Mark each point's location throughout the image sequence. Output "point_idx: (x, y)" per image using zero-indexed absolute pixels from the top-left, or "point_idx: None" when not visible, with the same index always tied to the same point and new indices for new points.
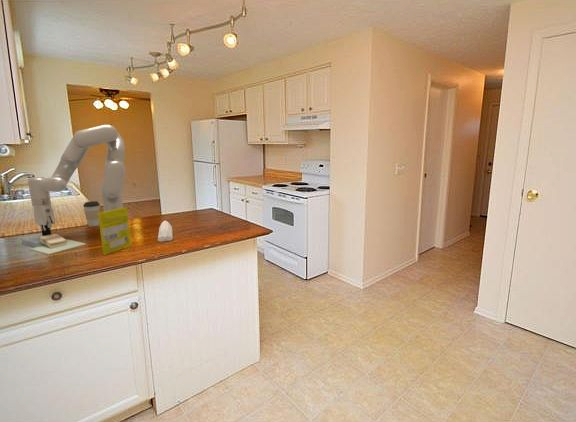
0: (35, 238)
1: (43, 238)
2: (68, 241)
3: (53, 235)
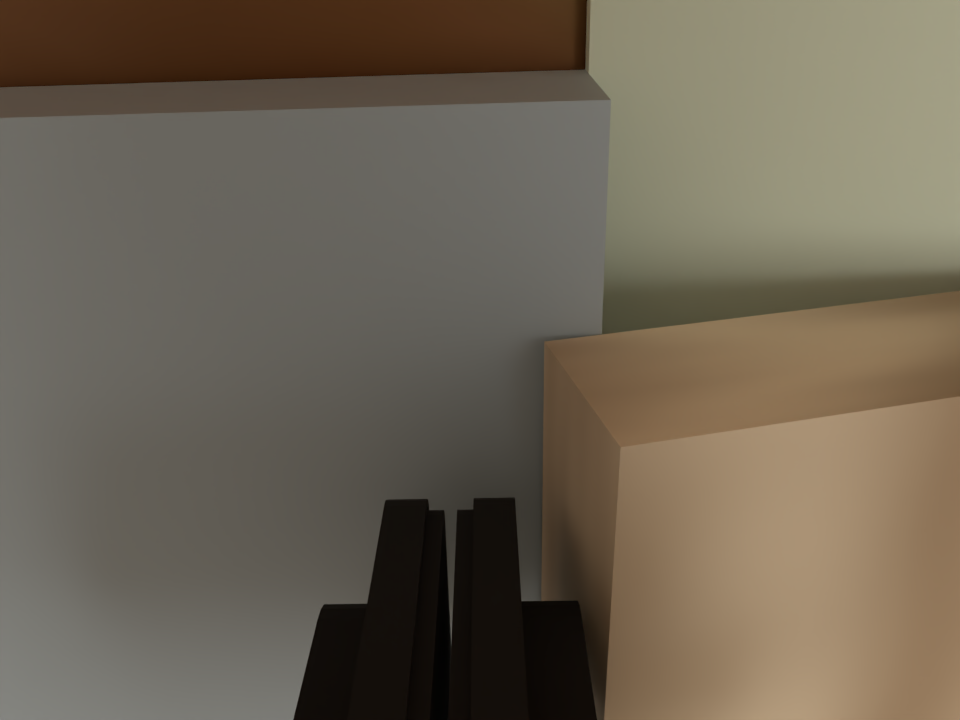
0: (3, 660)
1: None
2: (905, 23)
3: (775, 570)
